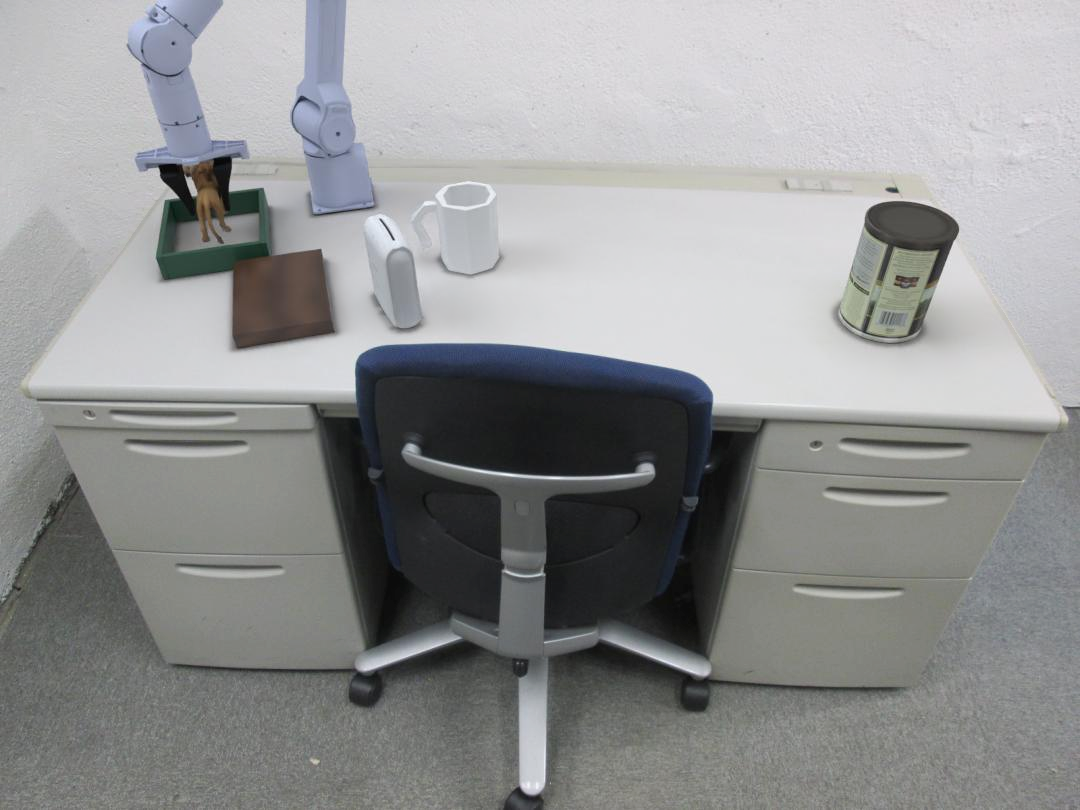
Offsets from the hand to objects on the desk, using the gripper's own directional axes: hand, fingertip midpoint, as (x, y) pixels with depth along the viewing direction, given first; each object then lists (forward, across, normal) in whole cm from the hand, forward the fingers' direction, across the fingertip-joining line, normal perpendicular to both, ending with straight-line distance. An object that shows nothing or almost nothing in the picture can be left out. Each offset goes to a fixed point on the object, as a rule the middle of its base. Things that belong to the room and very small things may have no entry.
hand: (210, 210), depth 114 cm
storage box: (+5, 0, 0) cm, 5 cm away
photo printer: (+5, +23, -25) cm, 34 cm away
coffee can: (+6, +82, -45) cm, 94 cm away
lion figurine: (+3, 0, +1) cm, 3 cm away
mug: (+5, +33, -15) cm, 37 cm away
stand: (+5, +8, -19) cm, 21 cm away
